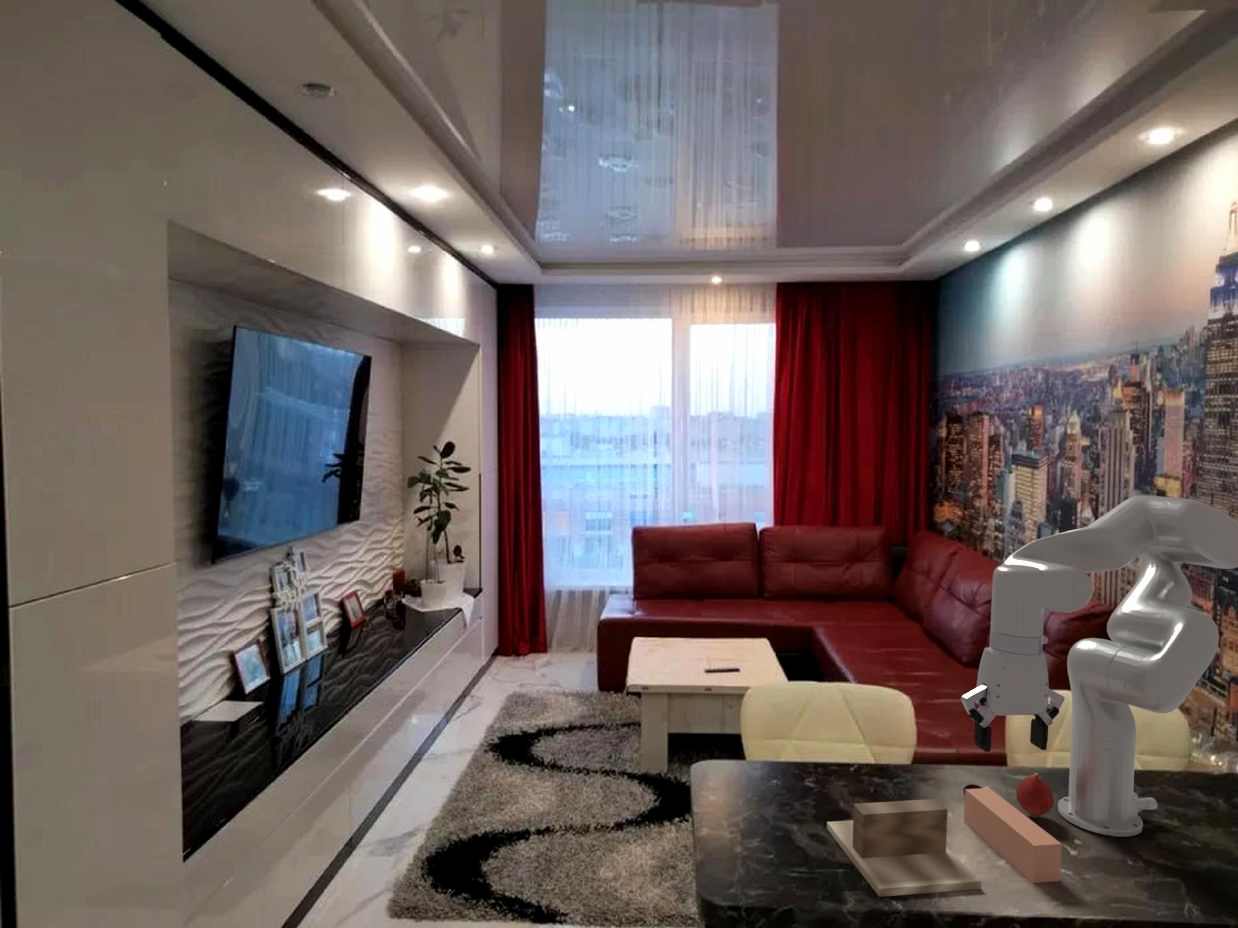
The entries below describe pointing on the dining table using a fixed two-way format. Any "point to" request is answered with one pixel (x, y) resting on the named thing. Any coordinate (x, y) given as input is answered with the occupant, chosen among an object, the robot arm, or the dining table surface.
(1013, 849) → the beam
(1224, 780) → the dining table surface
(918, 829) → the stand
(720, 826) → the dining table surface
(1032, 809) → the onion
